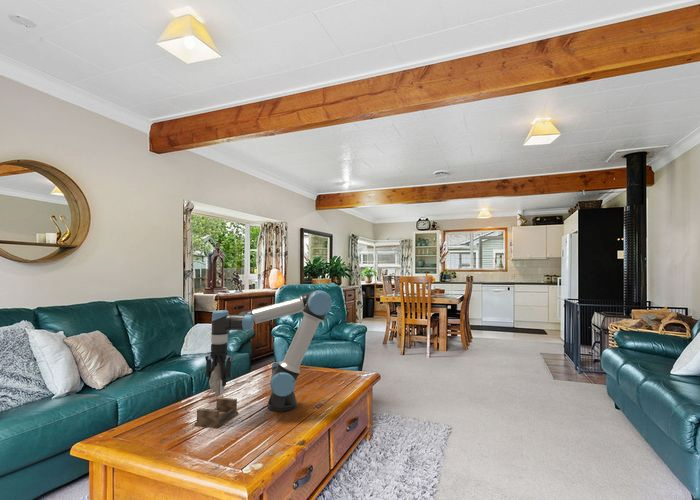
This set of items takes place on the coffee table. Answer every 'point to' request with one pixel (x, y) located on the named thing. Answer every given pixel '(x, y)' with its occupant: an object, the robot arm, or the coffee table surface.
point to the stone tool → (215, 380)
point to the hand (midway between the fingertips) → (217, 392)
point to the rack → (217, 413)
